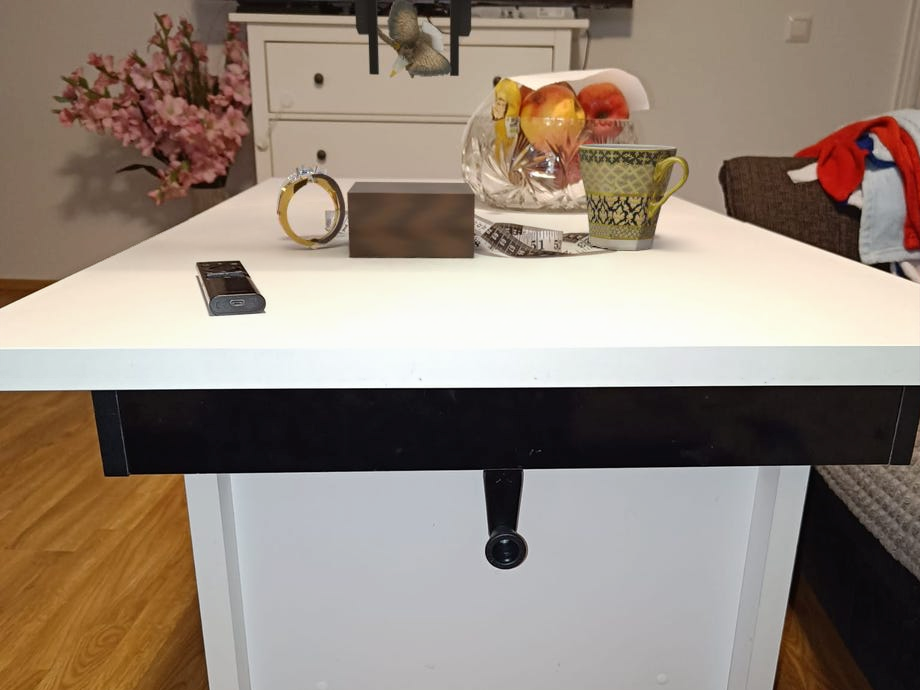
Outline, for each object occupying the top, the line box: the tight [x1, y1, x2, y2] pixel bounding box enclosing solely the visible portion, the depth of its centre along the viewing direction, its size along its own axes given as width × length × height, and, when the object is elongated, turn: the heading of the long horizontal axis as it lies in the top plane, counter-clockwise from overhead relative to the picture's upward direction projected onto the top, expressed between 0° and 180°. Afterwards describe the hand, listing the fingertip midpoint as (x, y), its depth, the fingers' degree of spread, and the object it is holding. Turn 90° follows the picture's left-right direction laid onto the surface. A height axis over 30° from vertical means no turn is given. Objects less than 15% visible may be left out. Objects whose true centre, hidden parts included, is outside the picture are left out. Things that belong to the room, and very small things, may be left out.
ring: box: [276, 164, 346, 250], centre depth 93 cm, size 7×3×8 cm, turn 119°
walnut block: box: [346, 181, 476, 259], centre depth 94 cm, size 12×12×6 cm
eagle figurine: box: [378, 0, 452, 79], centre depth 87 cm, size 8×7×9 cm
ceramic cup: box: [578, 143, 690, 251], centre depth 96 cm, size 13×10×10 cm
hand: (414, 74), depth 88 cm, fingers closed on eagle figurine, 7 cm apart
